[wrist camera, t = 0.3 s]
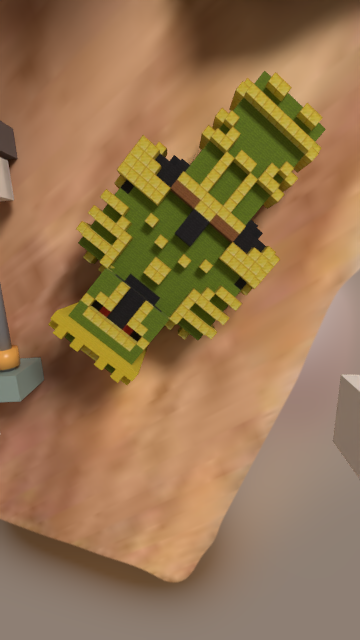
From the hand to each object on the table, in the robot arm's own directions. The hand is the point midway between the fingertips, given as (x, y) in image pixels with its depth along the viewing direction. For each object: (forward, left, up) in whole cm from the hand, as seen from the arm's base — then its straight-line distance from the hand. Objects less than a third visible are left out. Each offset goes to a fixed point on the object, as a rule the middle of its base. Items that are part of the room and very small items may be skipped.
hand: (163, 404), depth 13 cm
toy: (-7, +1, -28) cm, 29 cm away
